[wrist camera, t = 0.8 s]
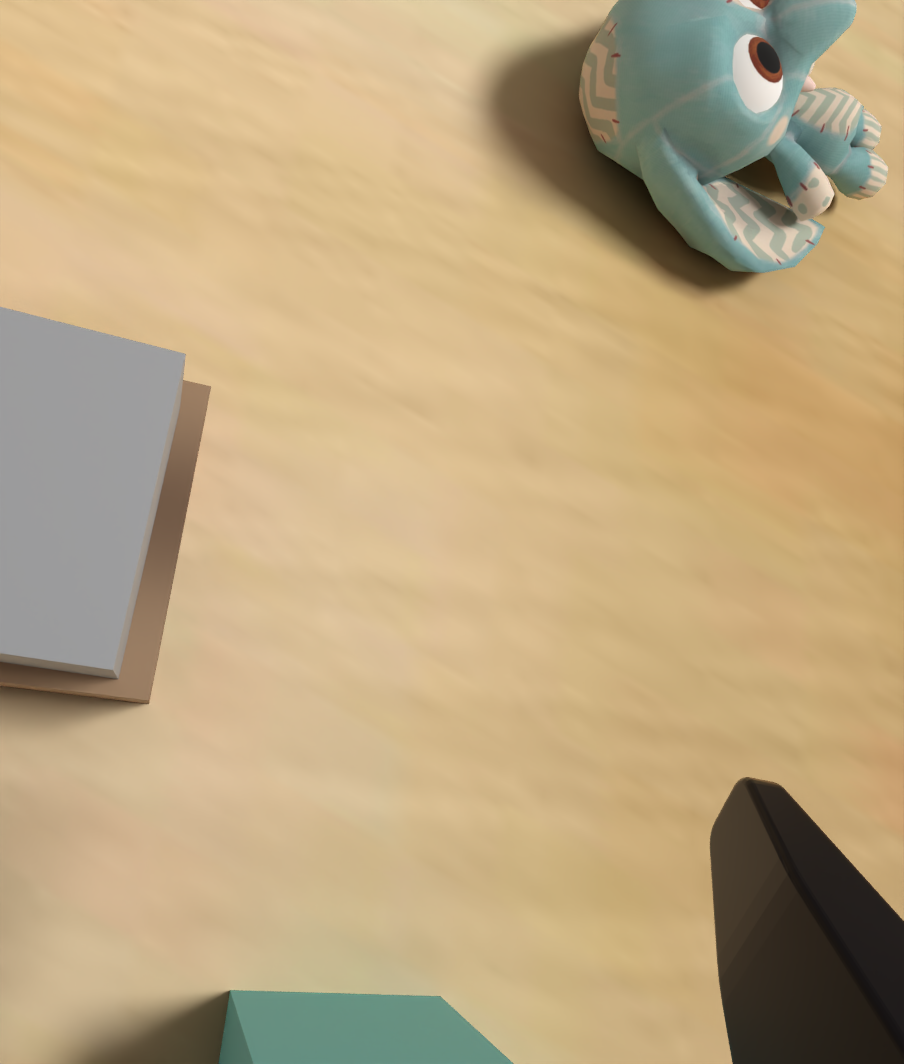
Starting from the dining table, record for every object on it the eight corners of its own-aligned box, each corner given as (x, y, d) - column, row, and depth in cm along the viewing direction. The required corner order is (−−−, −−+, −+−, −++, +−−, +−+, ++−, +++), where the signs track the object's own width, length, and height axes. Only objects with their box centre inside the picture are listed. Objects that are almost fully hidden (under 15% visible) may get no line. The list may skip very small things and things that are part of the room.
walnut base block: (148, 704, 20) (149, 700, 18) (-193, 662, 18) (-253, 650, 16) (203, 428, 22) (211, 386, 20) (-103, 363, 20) (-143, 305, 18)
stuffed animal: (1025, 242, 26) (745, 119, 20) (818, 336, 32) (556, 263, 26) (965, -60, 28) (698, -252, 22) (783, 81, 34) (534, -40, 28)
